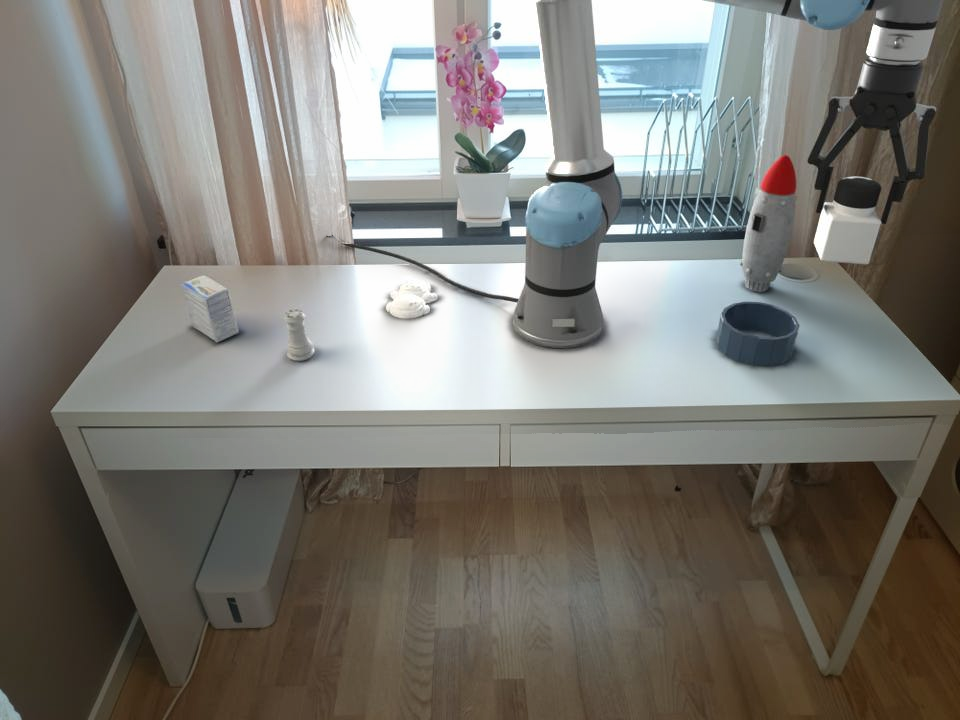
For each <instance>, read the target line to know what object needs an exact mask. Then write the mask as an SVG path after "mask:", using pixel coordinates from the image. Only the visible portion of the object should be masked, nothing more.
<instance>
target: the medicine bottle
mask: <svg viewBox="0 0 960 720" xmlns="http://www.w3.org/2000/svg"><path fill="white" fill-rule="evenodd" d="M882 189H883V188H882V185H881V184H880V183H879V182H878V181H876V180H874V179H872V178H869V177H865V176H855V175H853V176H847V177H842V178H841V179H839V181H837V184H836V189H835V192H834V194H833V195H834V196H833V200H832V201H830V202H829V201H825V203H824V207H823V210H822V212H821V213H820V216H819V220H818V224H817V227H816V231H815V235H814V239H813V245H814V247H815V249H816V252H817V254H818V255H817V256H818V257H819V259H820V261H821V262H827V263H840V264H842V263H844V264H854V265H856V264H857V265H870V262H871V259H872V256H873V253H874V251H875V250H874V249H875V247H876V243H877V240H878V236H879V233H880V230H881V226H882V224H881V223H882V222H881V219H880V217H879V215H878V214H877V212H876V208H877V205H878V201H879V199H880V195H881V192H882Z"/></svg>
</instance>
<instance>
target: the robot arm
mask: <svg viewBox="0 0 960 720" xmlns="http://www.w3.org/2000/svg"><path fill="white" fill-rule="evenodd" d="M532 1H533V3H534V8H535V18H536V25H537V32H538V33H537V34H538V44H539V52H540V61H541V69H542V76H543V77H542V78H543V85H544V87H543V88H544V94H545V105H546V111H547V121H548V128H549V136H550V145H551V154H552V156H551V158H550V159H549V161H548V162H547V163H546V165H545V166H544V171H545V178H546V179H545V180H546V185H544V186H542V187H540V188H538V189H537V190H535V192H533V193H532V195H531V196H530V198H529V199H528V202H527V209H526V212H525V221H524V222H525V262H524V263H525V264H524V268H525V269H524V275H525V276H524V283H523V287H522V290H521V292H520V295H519V298H517V297H513V296H507V295H506V296H505V295H500V294H493V293H488V292H484V291H481V290H477V289H475V288H471V287H469V286H466V285H463V284H461V283H459V282H457V281H454V280H452V279H450V278H448V277H447V276H445V275H443V274H442V273H440V272H439V271H437V270H436V269H433V268H432V267H430V266H428V265H426V264H424V263H422V262H419V261H417V260H415V259H412V258H409V257H407V256H404V255H401V254H398V253H395V252H391V251H387V250H382V249H379V248H375V247H370V246H367V245H361V244H358V243H357V244H356V243H351V242H350V243H351V244H344V246H346V247H350V248H352V249H353V248H354V249H358V250H364V251H367V252H368V251H369V252H372V253H377V254H381V255H385V256H389V257H392V258H395V259H398V260H401V261H404V262H407V263H410V264H411V265H415V266H417V267H419V268H422V269H423V270H425V271H427V272H429V273H431V274H433V275H435V276H436V277H438V278H439V279H441V280H443V281H444V282H445V283H447V284H449V285H451V286H453V287H456V288H458V289H460V290H463V291H465V292H468V293H471V294H474V295H476V296H481V297H485V298H488V299H491V300H500V301H505V302H506V301H507V302H510V303H511V302H512V303H516V305H515V307H514V311H513V315H512V316H513V317H512V318H513V319H512V320H513V321H512V322H513V323H512V326H513V329H514V331H515V332H516V334H517V335H518V336H519V337H521V339H523V340H525V341H527V342H529V343H531V344H534V345H536V346H540V347H545V348H550V349H551V348H552V349H569V348H576V347H581V346H584V345H587V344H589V343H592V342H593V341H595V340H596V339H598V338H599V336H600V335H601V333H602V332H603V331H602V330H603V327H604V326H603V325H604V315H603V311H602V307H601V303H600V300H599V296H598V292H597V288H596V280H597V269H598V258H599V250H600V246H601V244H602V242H603V241H604V238H605V237H606V235H607V234H608V232H609V230H610V228H611V227H612V226H613V224H614V222H615V221H616V220H617V217H618V216H619V213H620V211H621V207H622V204H623V203H622V202H623V187H622V183H621V181H620V179H619V177H618V175H617V174H616V171H615V159H614V156H613V155H612V154H610V153H609V152H608V151H607V150H605V147H604V134H603V123H602V110H601V100H600V88H599V87H600V85H599V76H598V75H599V74H598V63H597V62H598V61H597V51H596V49H597V48H596V38H595V37H596V36H595V26H594V14H593V12H594V11H593V1H592V0H532ZM703 1H704V2H710V3H714V4H720V5H725V6H730V7H736V8H741V9H745V10H751V11H756V12H762V13H767V14H772V15H777V16H780V17H786V18H789V19H793V20H794V19H795V20H799V21H804V22H807V23H808V24H810V25H812V26H813V27H815V28H817V29H819V30H824V31H836V30H841V29H843V28H845V27H848V26H850V25H851V24H853V23H854V22H855V21H857V20H858V19H859V18H860V17H861V16H862V14H863V13H864V12H865V11H866V12H867V11H869V12H870V11H876V12H875V17H874V21H873V24H872V28H871V32H870V35H869V39H868V44H867V47H866V50H865V51H866V52H865V54H866V55H867V56H868V57H867V58H866V59H864V60H863V63H862V67H861V71H860V74H859V78H858V82H857V86H856V89H855V91H854V92H853V93H852V95H851V96H840V95H839V94H834V95H833V96H832V97H831V98H830V100H829V102H828V111H827V116H826V118H825V120H824V123H823V125H822V128H821V130H820V132H819V134H818V136H817V138H816V141H815V142H814V144H813V146H812V149H811V151H810V153H809V156H808V158H807V160H806V161H807V163H808V164H809V165H813V166H815V167H816V168H817V174H816V178H815V182H814V190H817V191H820V193H819V198H818V201H817V206H816V209H815V213H816V214H821V212H822V210H823V207H824V203H825V202H826V199H827V195H828V191H829V188H830V183H831V180H832V176H833V171H834V168H835V166H831V165H832V163H833V162H834V161H835V159H836V158H837V157H838V156H839V155H840V153H841V152H842V151H843V149H844V148H845V147H846V146H847V145H848V143H850V141H851V140H852V139H853V137H854V136H855V135H856V134H857V133H858V132H859V131H860V129H861V128H863V129H868V130H869V129H877V130H879V131H883V132H886V131H888V133H889V137H890V139H891V145H892V148H893V149H892V150H893V154H894V159H895V163H896V169H897V173H898V175H893V179H892V182H891V184H890V185H891V186H890V189H889V192H888V195H887V199H886V201H885V204H884V205H885V206H884V208H883V212H882V215H881V219H880V221H881V222H882V223H881V225H887V221H888V218H889V215H890V213H891V209H892V205H893V202H895V203H901V202H902V200H903V198H904V196H905V193H906V189H907V186H908V183H909V182H911V181H914V180H919V181H920V180H923V179H924V178H925V176H926V168H927V159H928V158H927V156H928V146H929V138H930V136H929V135H930V127H931V124H932V122H933V120H934V118H935V116H936V112H937V106H936V105H935V104H930V105H927V104H926V105H925V104H922V103H918V102H917V101H918V100H917V97H916V94H917V91H918V88H919V85H920V82H921V78H922V75H923V71H924V68H925V65H924V63H923V62H922V61H924V60H926V59H927V58H928V55H929V52H930V48H931V45H932V42H933V39H934V35H935V32H936V29H937V24H938V20H939V17H940V15H941V11H942V8H943V5H944V2H945V0H703ZM847 106H850V109H851V110H852V112H853V115H854V117H855V118H854V119H853V120H852V121H851V123H850V125H849V126H848V127H847V128H846V129H845V131H844V132H843V133H842V134H841V135H840V137H839V138H838V140H836V142H835V143H834V144H833V146H832V147H831V148H830V149H829V151H828V152H827V153H826V154H825V155H824V157H823V156H822V155H820V154H821V152H822V150H823V148H824V146H825V144H826V141H827V139H828V137H829V135H830V133H831V131H832V129H833V126H834V124H835V122H836V120H837V119H838V115H839V114H841V113H843V112H844V111H845V109H846V107H847ZM913 113H915V116H916V117H915V119H916V121H917V122H918V123H919V128H918V135H917V145H916V157H915V158H916V160H915V167H914V168H910V165H909V160H908V154H907V149H906V144H905V140H904V134H903V128H902V123H901V122H902V121H904V120H905V119H906V118H907V117H909V116H910V115H911V114H913Z"/></svg>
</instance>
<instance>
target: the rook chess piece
mask: <svg viewBox="0 0 960 720" xmlns="http://www.w3.org/2000/svg"><path fill="white" fill-rule="evenodd" d="M305 318H306V314H304V313H303V310H302V309H301V308H300V309H299V308H297V307H295V308H294V310H293V308H289V309H288V310H286V311H285V316H284V317H283V319H284V321H285V322H286V323H287V325H286V328H287V329H288V332H289V335H288V336H289V339H288V341H287V345H286V349H285V350H286V356H287V357H288V358H289V359H290V360H292V361H294V362H304V361H307V360H309V359H311V358H312V357H313V355H314V354H315V348H314V343H313V342H312V341H311V340H310V338H309V337H308V336H307V333H306V330H305V326H306V323H305V322H304V320H305Z"/></svg>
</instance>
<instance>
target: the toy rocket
mask: <svg viewBox="0 0 960 720" xmlns="http://www.w3.org/2000/svg"><path fill="white" fill-rule="evenodd" d="M796 189H797V175H796V170H795V167H794V163H793V161H792V159H791V157H790V156H789V155H787V154H784V155H781V156H780V157H778V159H776V161H774V162H773V164H772V165H771V166H770V167H769V169H768V170H767V171H766V173H765V175H764V177H763V179H762V181H761V184H760V188H759V189H758V191H756V192H755V199H754V201H753V205H752V206H751V210H750V213H749V216H748V221H747V225H746V228H745V234H744V239H743V247H742V259H741V260H740V261H739V265H740V266H741V267H742V276H743V277H744V278H745V282H744V285H745V288H746V289H749V290H750V291H752V292H759V293H762V292H765V291H767V290H768V289H769V287H770V285H771V283H773V282H774V281H775V280H776V278H777V277H778V275H779V273H782V272H783V271H784V267H783V264H784V261H785V258H786V255H787V252H788V249H789V246H790V241H791V237H792V232H793V227H794V222H795V213H796V201H797V200H798V197H797V195H796Z"/></svg>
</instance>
